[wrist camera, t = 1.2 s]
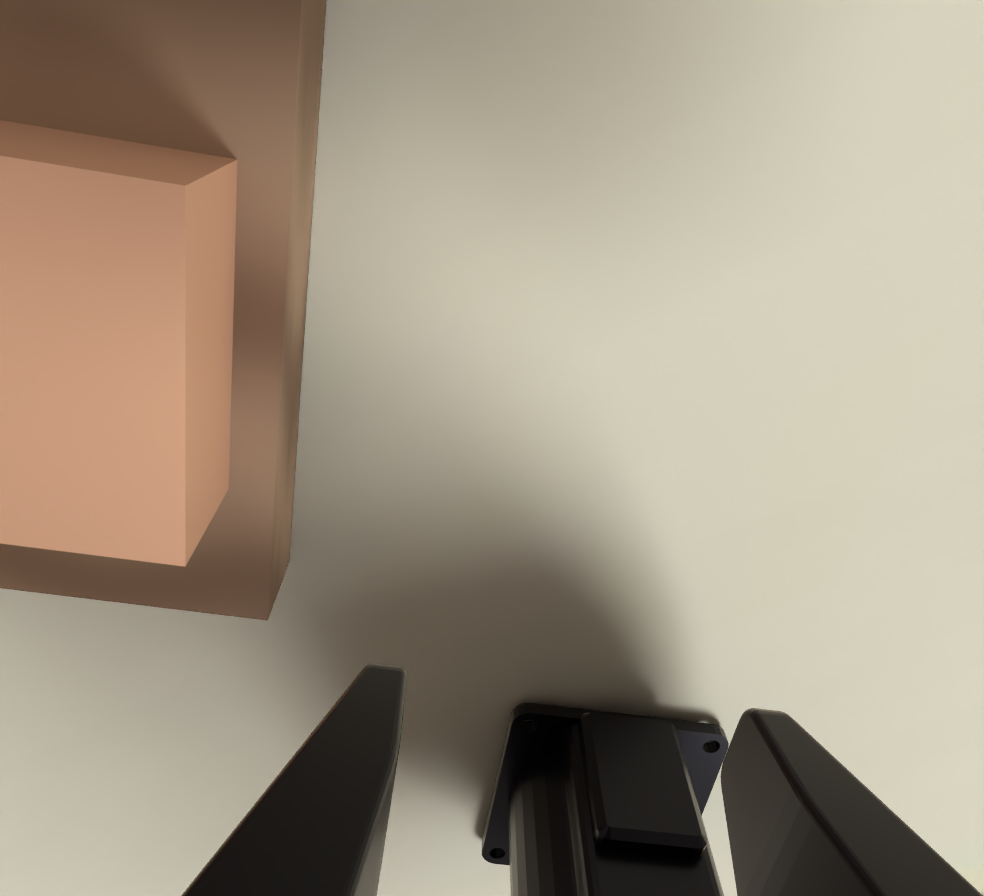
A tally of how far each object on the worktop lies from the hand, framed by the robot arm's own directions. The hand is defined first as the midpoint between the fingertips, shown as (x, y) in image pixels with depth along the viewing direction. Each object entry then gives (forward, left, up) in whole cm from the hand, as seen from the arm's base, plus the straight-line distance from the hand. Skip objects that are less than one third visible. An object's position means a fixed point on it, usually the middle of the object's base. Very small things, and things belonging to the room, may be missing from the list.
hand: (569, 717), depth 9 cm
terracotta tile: (0, +10, -10) cm, 14 cm away
